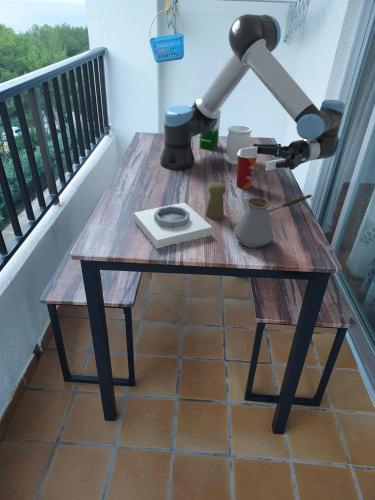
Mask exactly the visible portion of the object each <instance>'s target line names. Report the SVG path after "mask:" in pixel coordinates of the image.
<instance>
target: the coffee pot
mask: <svg viewBox="0 0 375 500" xmlns="http://www.w3.org/2000/svg"><path fill="white" fill-rule="evenodd" d="M307 199H310V201H311V202H313V201H314V198H313V195H312V194H307V195H304V196H301V197H298V198H295V199H292V200H289V201H287V202H285V203H282V204H280V205H277V206H275V207H272V208H269V207H270V205H271V203H270V201H269V200H268V199H266V198H262V197H256V196H255V197H250V198H248V199H247V201H246V203H247V206H248V207H247V208H246V210H245V212H244V213H243V215H242V216H241V219H239V221H238V223H237V224H236V226H235V228H234V230H233V232H234V236H235V238H236V239H237V241H239V243H240V244H242V243H243V244H245V245H247V246H250V247H249V248H251V247H259V248H261V247H260V246H262V247H264V246H267V244H269V243H270V242H271V241H272V240H273V237H274V231H273V228H272V224H271V221H270V217H269V213H272V212H275V211H277V210H280V209H283V208H286V207H289V206H292V205H296V204H298V203H300V202H302V201H305V200H307ZM268 208H269V209H268ZM243 244H242V245H243ZM247 246H246V247H247Z"/></svg>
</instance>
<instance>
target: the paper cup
mask: <svg viewBox="0 0 375 500" xmlns="http://www.w3.org/2000/svg"><path fill="white" fill-rule="evenodd" d="M240 151H241V149H240V150H239V151H238V153H237V155H238V162H237V165H236V166H237V167H236V181H235V182H236V183H235V185H236V187H237V188H239V189H241V190H247V189H250V188H251V186H252V181H253V177H254V172H255V167H256V163H257V162H256V161H257V158H258V155H259V154H257V155H256V156H255V155H253V156H247V157H240Z"/></svg>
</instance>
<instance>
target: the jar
mask: <svg viewBox="0 0 375 500" xmlns="http://www.w3.org/2000/svg"><path fill="white" fill-rule="evenodd" d="M227 131H228V133H227V136H226V137H227V138H226V154H227V157H228V158H227V160H226V162H227V163H229V164H231V165H236V166H237V162H238V155H237V153H238V151H239V150H240V149H243V148H249V147H251V133H252V131H253V129H252V127H249V126H245V125H230V126H228V127H227Z"/></svg>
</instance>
